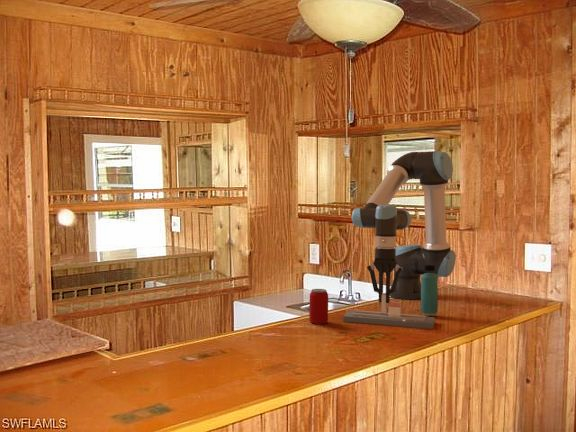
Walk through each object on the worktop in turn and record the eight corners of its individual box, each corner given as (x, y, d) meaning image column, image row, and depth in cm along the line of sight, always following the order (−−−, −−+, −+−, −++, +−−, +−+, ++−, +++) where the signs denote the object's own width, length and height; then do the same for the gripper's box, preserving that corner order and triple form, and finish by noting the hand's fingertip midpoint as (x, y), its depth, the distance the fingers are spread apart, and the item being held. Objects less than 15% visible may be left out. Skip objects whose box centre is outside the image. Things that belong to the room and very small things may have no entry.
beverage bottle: (439, 318, 231) (440, 266, 230) (421, 318, 231) (423, 265, 230) (435, 314, 238) (436, 263, 237) (418, 314, 238) (419, 263, 237)
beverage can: (328, 320, 225) (328, 288, 225) (327, 325, 219) (328, 292, 218) (309, 320, 226) (310, 288, 225) (308, 324, 219) (309, 291, 219)
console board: (348, 315, 234) (349, 308, 234) (434, 322, 224) (434, 315, 224) (343, 321, 225) (343, 314, 224) (432, 329, 215) (432, 321, 215)
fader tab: (389, 315, 226) (389, 301, 226) (401, 316, 225) (401, 302, 224) (387, 317, 223) (388, 303, 222) (399, 318, 221) (400, 304, 221)
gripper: (365, 247, 222) (364, 312, 223) (401, 249, 218) (400, 315, 219) (369, 245, 229) (368, 307, 230) (404, 247, 225) (403, 310, 226)
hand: (383, 311), depth 225 cm, fingers closed
